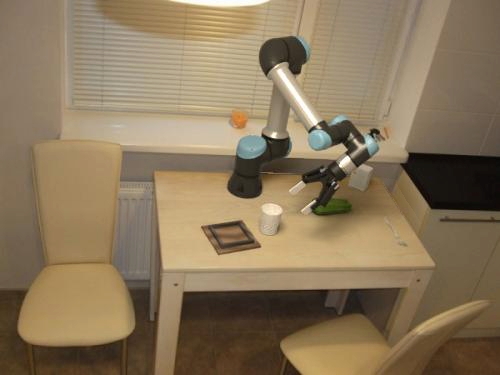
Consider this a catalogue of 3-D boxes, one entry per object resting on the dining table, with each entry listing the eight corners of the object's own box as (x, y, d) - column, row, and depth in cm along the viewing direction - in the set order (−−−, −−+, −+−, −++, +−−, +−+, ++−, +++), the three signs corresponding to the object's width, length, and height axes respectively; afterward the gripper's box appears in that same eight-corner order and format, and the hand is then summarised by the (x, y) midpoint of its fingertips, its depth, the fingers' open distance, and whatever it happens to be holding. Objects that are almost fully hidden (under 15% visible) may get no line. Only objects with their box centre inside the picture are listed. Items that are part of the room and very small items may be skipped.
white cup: (254, 225, 211) (258, 204, 206) (273, 223, 214) (277, 202, 209) (262, 237, 205) (266, 215, 200) (281, 235, 208) (285, 214, 203)
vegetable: (312, 193, 222) (355, 192, 229) (306, 202, 228) (348, 200, 234) (317, 209, 218) (360, 207, 225) (310, 218, 224) (353, 215, 231)
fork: (385, 213, 234) (386, 209, 233) (407, 248, 214) (408, 244, 213) (378, 213, 233) (379, 209, 232) (399, 247, 213) (400, 244, 212)
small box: (368, 187, 251) (374, 167, 245) (363, 192, 247) (369, 172, 241) (352, 181, 254) (357, 161, 249) (347, 185, 250) (353, 165, 244)
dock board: (201, 227, 204) (201, 222, 203) (241, 221, 212) (242, 216, 211) (218, 255, 192) (219, 249, 191) (260, 247, 199) (261, 242, 198)
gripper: (360, 191, 194) (314, 227, 197) (333, 157, 214) (291, 191, 217) (351, 178, 190) (303, 216, 193) (323, 145, 210) (280, 180, 213)
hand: (296, 203), depth 205 cm, fingers open, 13 cm apart
